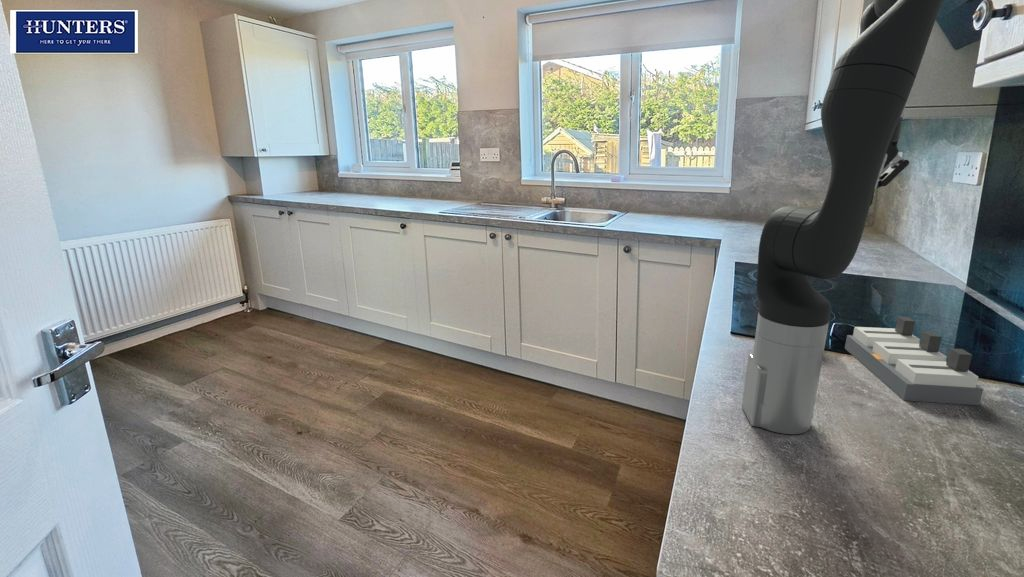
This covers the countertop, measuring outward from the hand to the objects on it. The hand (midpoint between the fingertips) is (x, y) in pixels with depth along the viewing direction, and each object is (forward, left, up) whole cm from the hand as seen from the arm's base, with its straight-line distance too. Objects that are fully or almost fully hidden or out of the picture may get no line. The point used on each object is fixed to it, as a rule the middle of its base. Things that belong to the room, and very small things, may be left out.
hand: (861, 208), depth 98 cm
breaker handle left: (+9, -6, -24) cm, 26 cm away
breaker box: (+6, -14, -29) cm, 33 cm away
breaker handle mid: (+9, -14, -24) cm, 29 cm away
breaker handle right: (+9, -22, -24) cm, 33 cm away
